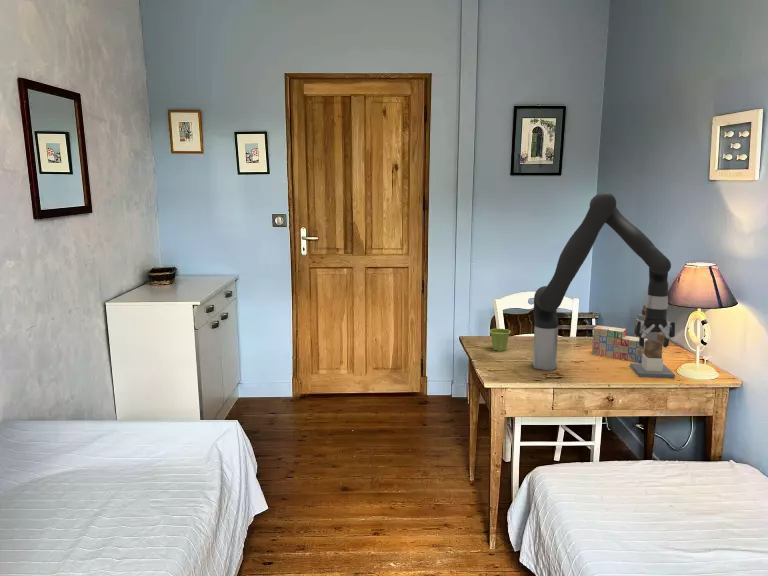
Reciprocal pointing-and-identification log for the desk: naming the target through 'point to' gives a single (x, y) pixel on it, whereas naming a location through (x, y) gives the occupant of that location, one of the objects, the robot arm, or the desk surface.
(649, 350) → the walnut block
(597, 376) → the desk surface
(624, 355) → the stack of blocks
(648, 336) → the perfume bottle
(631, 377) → the desk surface
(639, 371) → the base plate
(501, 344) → the plant pot
